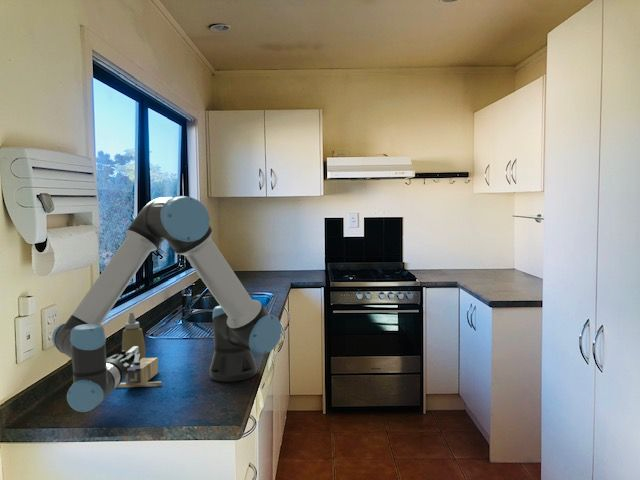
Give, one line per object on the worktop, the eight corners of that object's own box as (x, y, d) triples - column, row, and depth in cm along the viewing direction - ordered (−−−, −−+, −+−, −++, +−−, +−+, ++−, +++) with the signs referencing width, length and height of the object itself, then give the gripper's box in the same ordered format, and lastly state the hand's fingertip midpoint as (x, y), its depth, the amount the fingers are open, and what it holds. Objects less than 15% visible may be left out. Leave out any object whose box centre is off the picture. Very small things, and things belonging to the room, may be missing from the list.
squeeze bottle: (120, 367, 178) (118, 316, 177) (123, 360, 186) (120, 311, 184) (145, 365, 180) (143, 314, 179) (146, 358, 188) (144, 309, 187)
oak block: (142, 385, 156) (158, 372, 172) (142, 368, 156) (157, 357, 172) (125, 385, 155) (143, 373, 172) (125, 368, 156) (142, 357, 172)
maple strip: (161, 385, 160) (161, 381, 160) (160, 386, 159) (160, 382, 159) (115, 386, 159) (115, 383, 159) (114, 388, 158) (114, 384, 158)
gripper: (82, 391, 135) (115, 363, 158) (132, 389, 135) (158, 361, 159) (80, 363, 134) (114, 339, 158) (131, 361, 135) (157, 337, 158)
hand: (136, 350), depth 158 cm, fingers closed
